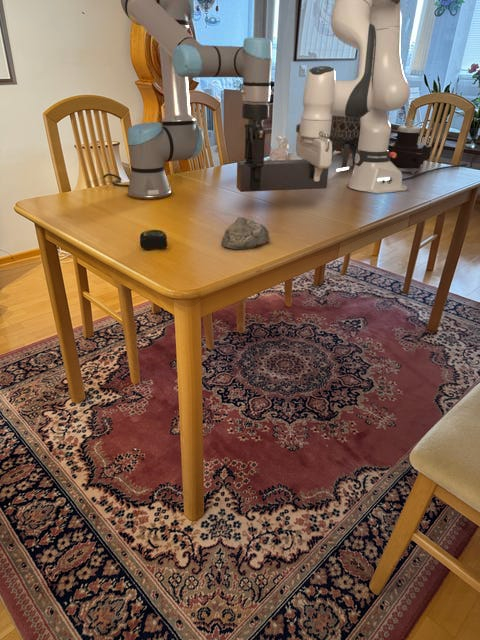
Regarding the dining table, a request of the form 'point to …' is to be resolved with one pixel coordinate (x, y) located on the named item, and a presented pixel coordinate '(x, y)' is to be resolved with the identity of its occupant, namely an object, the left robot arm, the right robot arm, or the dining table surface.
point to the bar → (281, 176)
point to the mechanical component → (409, 148)
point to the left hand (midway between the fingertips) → (252, 187)
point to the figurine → (280, 150)
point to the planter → (345, 136)
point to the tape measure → (153, 239)
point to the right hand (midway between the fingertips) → (310, 177)
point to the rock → (245, 234)
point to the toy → (341, 150)
